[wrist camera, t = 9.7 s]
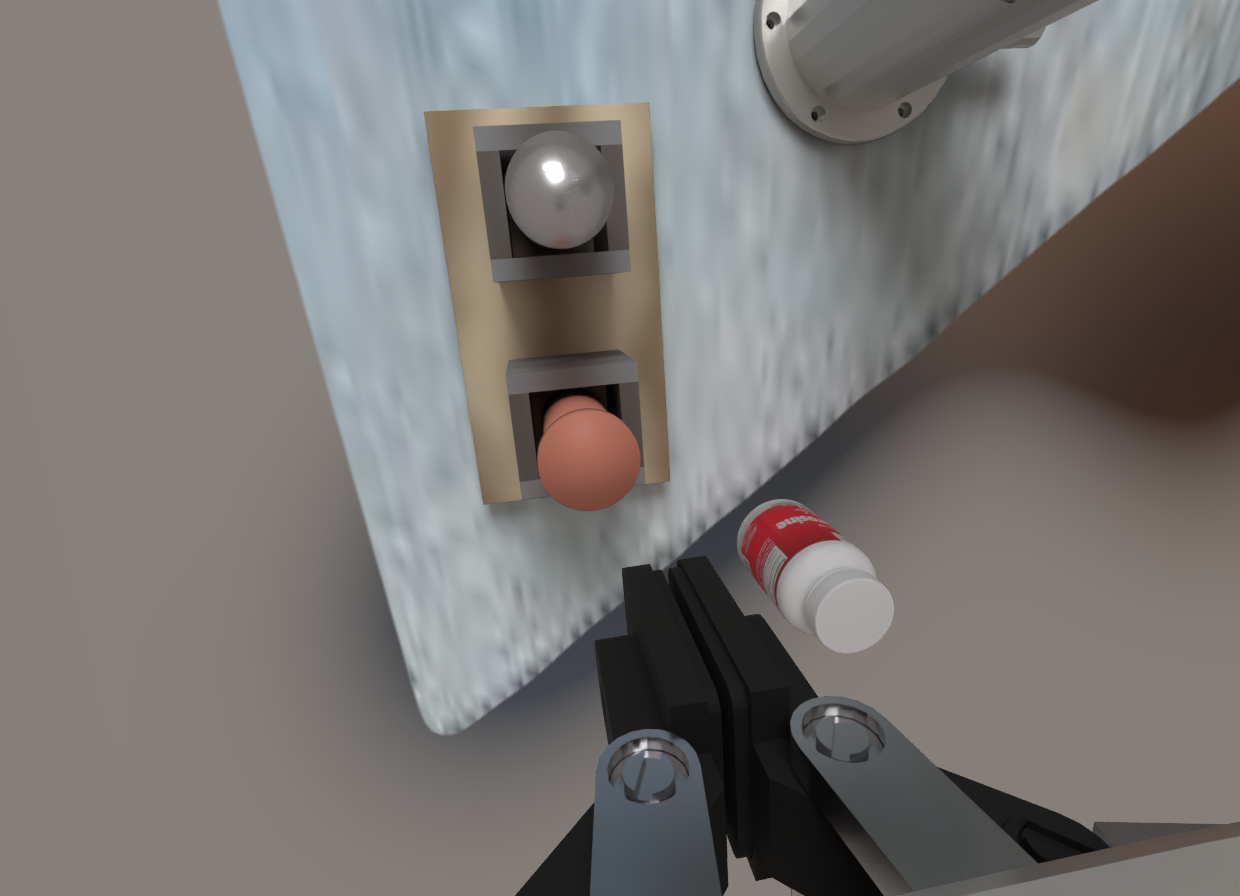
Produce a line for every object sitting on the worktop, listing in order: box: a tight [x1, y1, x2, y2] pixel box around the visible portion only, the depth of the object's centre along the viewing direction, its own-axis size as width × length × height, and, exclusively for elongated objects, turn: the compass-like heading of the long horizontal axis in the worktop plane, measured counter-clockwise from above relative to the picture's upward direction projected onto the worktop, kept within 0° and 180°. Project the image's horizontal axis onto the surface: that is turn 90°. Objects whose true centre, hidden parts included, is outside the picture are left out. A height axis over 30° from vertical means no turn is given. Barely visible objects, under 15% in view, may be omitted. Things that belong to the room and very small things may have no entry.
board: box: [424, 102, 670, 505], centre depth 32 cm, size 12×22×8 cm, turn 4°
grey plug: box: [505, 130, 614, 250], centre depth 28 cm, size 4×4×9 cm
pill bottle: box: [737, 499, 894, 653], centre depth 37 cm, size 6×6×11 cm
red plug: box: [537, 387, 640, 511], centre depth 29 cm, size 4×4×9 cm
